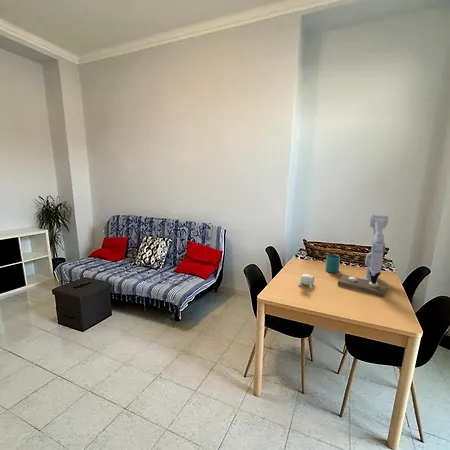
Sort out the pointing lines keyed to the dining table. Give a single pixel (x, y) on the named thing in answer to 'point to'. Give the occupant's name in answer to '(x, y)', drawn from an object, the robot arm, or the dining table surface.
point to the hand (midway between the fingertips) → (373, 283)
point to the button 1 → (352, 279)
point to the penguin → (307, 280)
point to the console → (363, 286)
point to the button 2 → (373, 284)
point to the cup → (332, 263)
